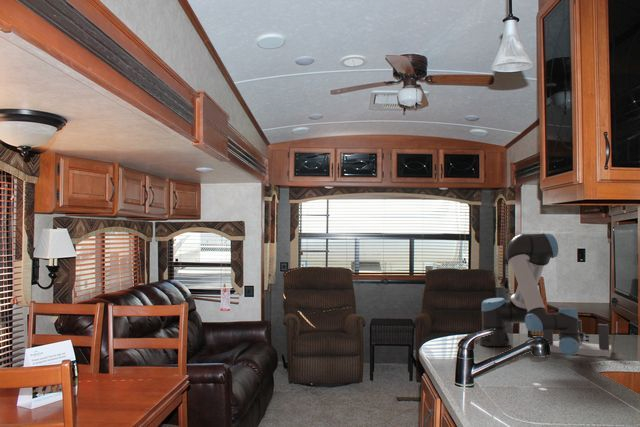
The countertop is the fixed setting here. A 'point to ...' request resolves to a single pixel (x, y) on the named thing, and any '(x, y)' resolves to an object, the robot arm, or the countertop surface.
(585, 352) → the three peg stand
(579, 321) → the dark grey upright block
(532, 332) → the ammunition clip
